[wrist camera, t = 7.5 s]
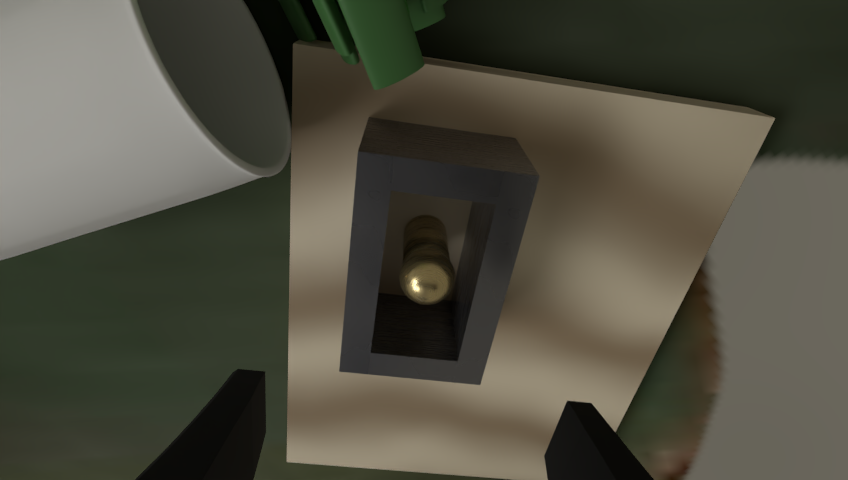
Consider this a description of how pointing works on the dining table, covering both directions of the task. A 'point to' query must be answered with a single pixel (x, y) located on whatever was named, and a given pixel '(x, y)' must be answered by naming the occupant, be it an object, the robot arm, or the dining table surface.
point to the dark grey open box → (479, 262)
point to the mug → (129, 111)
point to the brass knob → (426, 261)
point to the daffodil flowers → (371, 32)
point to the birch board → (535, 264)
